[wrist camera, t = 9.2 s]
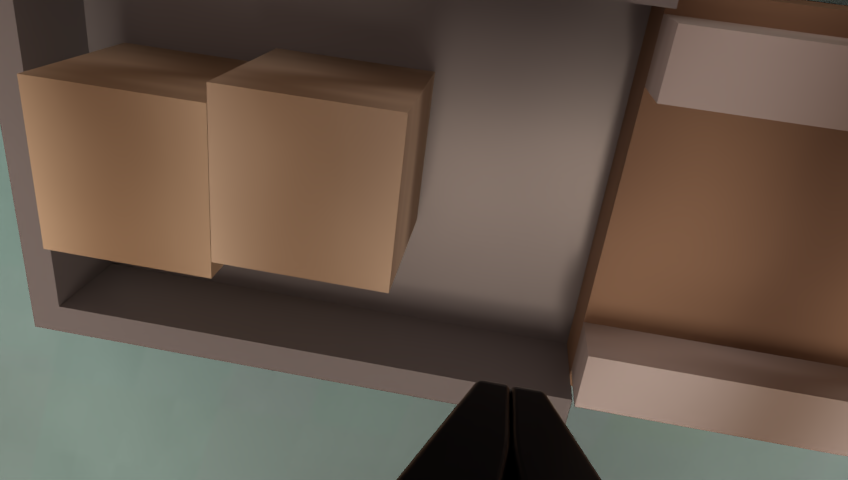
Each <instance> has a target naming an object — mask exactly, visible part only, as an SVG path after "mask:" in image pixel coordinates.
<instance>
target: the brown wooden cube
mask: <svg viewBox="0 0 848 480" xmlns="http://www.w3.org/2000/svg"><path fill="white" fill-rule="evenodd" d="M434 76H435V72H433V71H426V70H420V69H413V68H406V67H400V66H393V65H386V64H379V63H373V62H366V61H359V60H352V59H346V58H339V57H332V56H325V55H319V54H312V53H305V52H299V51H292V50H285V49H278V48H276V49H274V50H272V51H270V52H268V53H266V54H263V55H261V56H259V57H257V58H255V59H253V60H251V61H249V62H247V63H245V64H243V65H241V66H238V67H236V68H234V69H232V70H230V71H228V72H226V73H224V74H222V75H220V76H218V77H216V78H214V79H211V80H209V81H207V82H206V86H207V122H208V158H209V193H210V229H211V262H213V263H219V264H225V265H230V266H236V267H242V268H248V269H253V270H259V271H265V272H270V273H276V274H282V275H287V276H293V277H299V278H304V279H310V280H316V281H321V282H327V283H333V284H338V285H344V286H350V287H356V288H361V289H367V290H373V291H378V292H384V293H389V291H390V288H391V286H392V283H393V281H394V278H395V275H396V273H397V270H398V268H399V265H400V262H401V260H402V257H403V255H404V252H405V249H406V247H407V244H408V242H409V239H410V237H411V234H412V231H413V229H414V226H415V224H416V221H417V214H418V206H419V198H420V190H421V182H422V174H423V165H424V157H425V149H426V141H427V133H428V125H429V116H430V108H431V100H432V92H433V84H434Z"/></svg>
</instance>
